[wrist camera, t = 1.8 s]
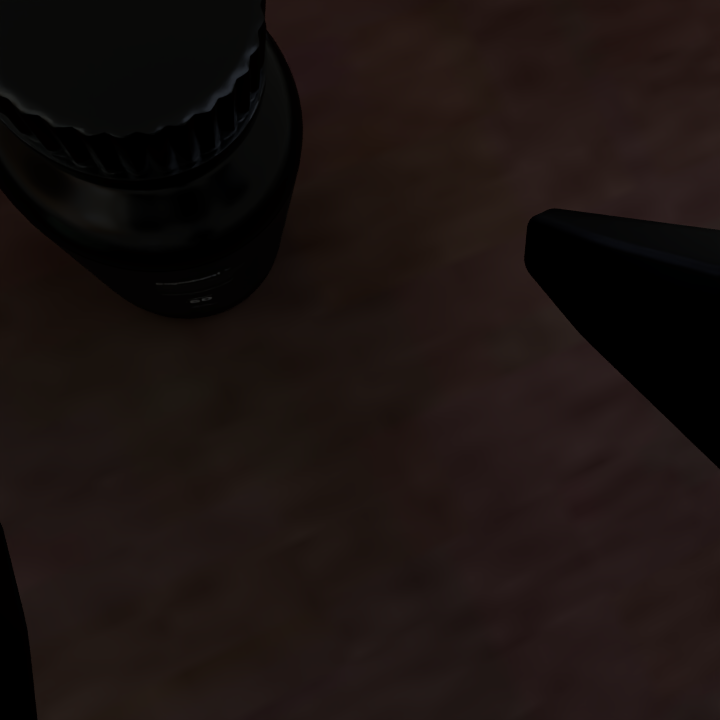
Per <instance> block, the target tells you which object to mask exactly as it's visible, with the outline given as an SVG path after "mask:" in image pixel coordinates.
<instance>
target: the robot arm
mask: <svg viewBox="0 0 720 720" xmlns="http://www.w3.org/2000/svg"><path fill="white" fill-rule="evenodd" d="M524 261H525V265H526V268H527V270H528V272H529V273H530V275H531V276H532V277H533V278H534V280H535V281H536V282H537V283H538V284H539V286H540V287H541V288H542V289H543V290H544V292H545V293H546V294H547V295H548V296H549V298H550V299H551V300H552V301H553V302H554V304H555V305H556V306H557V307H558V308H559V310H560V311H561V312H562V313H563V314H564V316H565V317H566V318H567V319H568V320H569V322H570V323H571V324H572V325H573V326H574V327H575V328H576V330H577V331H578V332H579V333H580V334H581V335H582V336H583V337H584V338H585V339H586V340H587V341H588V342H589V343H590V344H591V345H592V346H593V347H594V348H595V349H596V350H597V351H598V352H599V353H600V354H601V355H602V356H603V357H604V358H605V359H606V360H607V361H608V362H609V363H610V364H611V365H612V366H613V367H614V368H616V369H617V370H618V371H619V372H620V373H621V374H622V375H623V376H624V377H625V378H626V379H627V380H628V381H629V382H630V383H631V384H632V385H633V386H634V387H635V388H636V389H637V390H638V391H639V392H640V393H641V394H642V395H643V396H645V397H646V398H647V399H648V400H649V401H650V402H651V403H652V404H653V405H654V406H655V407H656V408H657V409H658V410H659V411H660V412H661V413H662V414H663V415H664V416H665V417H666V418H667V419H668V420H669V421H670V422H671V423H672V424H674V425H675V426H676V427H677V428H678V429H679V430H680V431H681V432H682V433H683V434H684V435H685V436H686V437H687V438H688V439H689V440H690V441H691V442H692V443H693V444H694V445H695V446H696V447H697V448H698V449H699V450H700V451H701V452H703V453H704V454H705V455H706V456H707V457H708V458H709V459H710V460H711V461H712V462H713V463H714V464H715V465H716V466H717V467H718V468H719V469H720V230H715V229H707V228H700V227H692V226H685V225H677V224H669V223H662V222H654V221H647V220H639V219H632V218H624V217H617V216H609V215H601V214H594V213H586V212H579V211H571V210H564V209H555V208H554V209H549V210H546V211H544V212H542V213H540V214H538V215H535V216H534V217H532V218H531V219H530V221H529V223H528V226H527V234H526V245H525V256H524ZM0 720H37V711H36V702H35V693H34V683H33V674H32V664H31V655H30V646H29V639H28V631H27V626H26V621H25V616H24V612H23V608H22V604H21V600H20V596H19V592H18V587H17V583H16V579H15V575H14V571H13V567H12V563H11V559H10V555H9V551H8V547H7V543H6V539H5V535H4V531H3V527H2V525H1V523H0Z"/></svg>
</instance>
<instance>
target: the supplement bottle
mask: <svg viewBox="0 0 720 720" xmlns="http://www.w3.org/2000/svg"><path fill="white" fill-rule="evenodd" d="M265 7H266V0H0V189H1V190H2V191H3V193H4V194H5V195H6V196H7V198H8V199H9V200H10V201H11V203H12V204H13V205H14V206H15V207H16V208H17V209H18V210H19V211H20V212H21V213H22V214H23V215H24V216H25V217H26V218H27V219H28V220H29V221H30V222H31V223H32V224H33V225H34V226H35V227H36V228H37V229H39V230H40V231H41V232H42V233H43V234H45V235H46V236H47V237H48V238H49V239H51V240H52V241H53V242H54V243H55V244H57V245H58V246H59V247H60V248H62V249H63V250H64V251H65V252H66V253H68V254H69V255H70V256H71V257H73V258H74V259H75V260H76V261H78V262H79V263H80V264H81V265H82V266H84V267H85V268H86V269H87V270H89V271H90V272H91V273H92V274H93V275H95V276H96V277H97V278H98V279H100V280H101V281H102V282H103V283H104V284H106V285H107V286H108V287H109V288H111V289H112V290H113V291H114V292H116V293H117V294H119V295H120V296H121V297H123V298H124V299H126V300H127V301H129V302H130V303H132V304H134V305H136V306H137V307H140V308H142V309H144V310H146V311H149V312H152V313H155V314H158V315H162V316H166V317H173V318H186V319H187V318H200V317H207V316H211V315H215V314H218V313H221V312H224V311H226V310H228V309H230V308H232V307H234V306H236V305H238V304H239V303H241V302H242V301H244V300H245V299H246V298H248V297H249V296H250V295H251V294H252V293H253V292H254V291H255V290H256V289H257V288H258V287H259V286H260V285H261V283H262V282H263V281H264V279H265V278H266V276H267V275H268V273H269V271H270V270H271V268H272V265H273V263H274V261H275V258H276V255H277V252H278V249H279V246H280V242H281V237H282V233H283V229H284V225H285V221H286V217H287V213H288V209H289V205H290V201H291V197H292V193H293V189H294V185H295V181H296V177H297V172H298V168H299V164H300V157H301V149H302V140H303V121H302V110H301V105H300V99H299V95H298V91H297V88H296V84H295V81H294V78H293V76H292V73H291V70H290V68H289V66H288V64H287V62H286V60H285V58H284V56H283V54H282V52H281V50H280V49H279V47H278V45H277V44H276V42H275V41H274V39H273V38H272V36H271V35H270V34H269V32H268V31H267V30H266V23H265Z"/></svg>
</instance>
